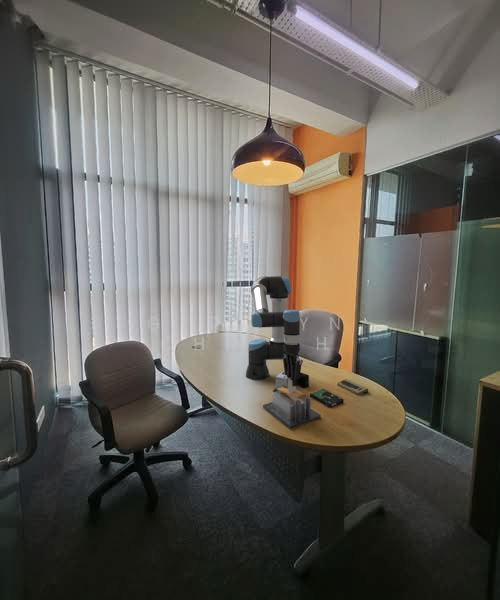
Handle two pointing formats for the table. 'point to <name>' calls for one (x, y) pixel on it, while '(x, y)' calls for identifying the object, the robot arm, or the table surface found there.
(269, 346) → the robot arm
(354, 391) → the computer
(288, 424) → the heatsink base
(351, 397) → the table surface
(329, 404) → the disk drive
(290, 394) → the latch bar
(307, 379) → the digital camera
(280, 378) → the light bulb box
